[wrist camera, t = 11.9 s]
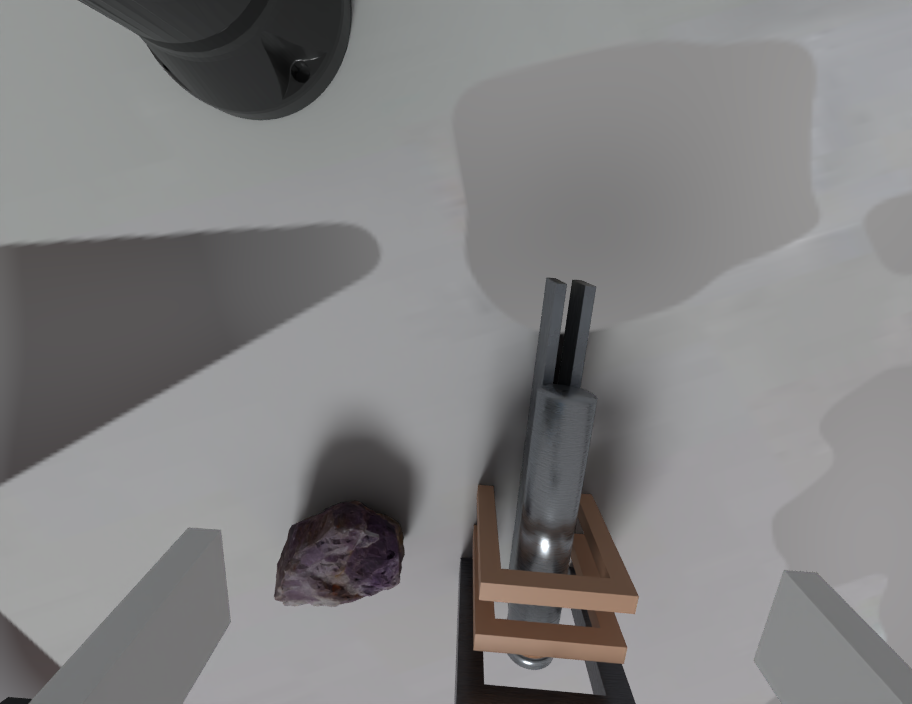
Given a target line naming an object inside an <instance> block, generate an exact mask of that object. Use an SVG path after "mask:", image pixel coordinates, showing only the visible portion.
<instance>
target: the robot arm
mask: <svg viewBox="0 0 912 704" xmlns="http://www.w3.org/2000/svg"><path fill="white" fill-rule="evenodd" d="M79 1H80V2H82V3H84V4H86V5H87V6H89V7H91V8H93V9H94V10H96V11H98V12H100V13H101V14H103V15H105V16H106V17H108V18H110V19H112V20H113V21H115V22H117V23H119V24H120V25H122V26H124V27H126V28H127V29H129V30H131V31H132V32H134V33H136V34H137V35H139V36H140V37H141V38H142V40H143V41H144V42H145V43H146V44H147V46H148V47H149V49H150V51H151V52H152V54H153V55H154V57H155V58H156V60H157V61H158V62H159V63H160V65H161V66H162V67H163V68H164V70H165V71H166V72H167V73H168V74H169V75H170V76H171V77H172V78H173V79H174V80H175V81H176V82H177V83H178V84H179V85H180V86H181V87H183V88H184V89H185V90H186V91H188V92H189V93H190V94H192V95H193V96H195V97H196V98H198V99H199V100H201V101H203V102H205V103H207V104H209V105H211V106H213V107H215V108H217V109H219V110H221V111H223V112H225V113H228V114H230V115H233V116H236V117H240V118H245V119H252V120H270V119H277V118H281V117H285V116H288V115H291V114H293V113H296V112H297V111H299V110H301V109H303V108H305V107H306V106H308V105H309V104H310V103H312V102H313V101H314V100H315V99H317V98H318V97H319V96H320V95H321V94H322V93H323V92H324V90H325V89H326V88H327V87H328V85H329V84H330V83H331V81H332V80H333V78H334V76H335V75H336V73H337V71H338V69H339V67H340V65H341V63H342V60H343V58H344V54H345V51H346V48H347V44H348V39H349V33H350V23H351V6H350V0H79ZM230 622H231V619H230V610H229V600H228V591H227V582H226V572H225V563H224V554H223V544H222V535H221V530H215V529H201V528H188V529H187V530H186V531H185V532H184V533H183V534H182V535H181V536H180V538H179V539H178V540H177V541H176V542H175V543H174V544H173V545H172V546H171V547H170V549H169V550H168V551H167V552H166V553H165V554H164V555H163V556H162V557H161V558H160V560H159V561H158V562H157V563H156V564H155V565H154V566H153V567H152V568H151V569H150V571H149V572H148V573H147V574H146V575H145V576H144V577H143V578H142V579H141V580H140V582H139V583H138V584H137V585H136V586H135V587H134V588H133V589H132V590H131V591H130V593H129V594H128V595H127V596H126V597H125V598H124V599H123V600H122V601H121V602H120V604H119V605H118V606H117V607H116V608H115V609H114V610H113V611H112V612H111V613H110V615H109V616H108V617H107V618H106V619H105V620H104V621H103V622H102V623H101V624H100V626H99V627H98V628H97V629H96V630H95V631H94V632H93V633H92V634H91V635H90V637H89V638H88V639H87V640H86V641H85V642H84V643H83V644H82V645H81V646H80V648H79V649H78V650H77V651H76V652H75V653H74V654H73V655H72V656H71V657H70V659H69V660H68V661H67V662H66V663H65V664H64V665H63V666H62V667H61V668H60V670H59V671H58V672H57V673H56V674H55V675H54V676H53V677H52V678H51V680H50V681H49V682H48V683H47V684H46V685H45V686H44V687H43V688H42V689H41V690H40V692H39V693H38V694H37V695H36V696H35V697H34V698H33V699H26V698H13V697H8V698H6V699H5V700H3V701H2V702H1V703H0V704H183V702H184V700H185V698H186V697H187V695H188V693H189V692H190V690H191V688H192V687H193V685H194V683H195V682H196V680H197V678H198V677H199V675H200V673H201V671H202V670H203V668H204V666H205V665H206V663H207V661H208V660H209V658H210V656H211V655H212V653H213V651H214V649H215V648H216V646H217V644H218V643H219V641H220V639H221V638H222V636H223V634H224V633H225V631H226V629H227V627H228V626H229V624H230ZM754 662H755V663H756V665H757V667H758V668H759V670H760V671H761V673H762V674H763V676H764V677H765V679H766V680H767V682H768V684H769V685H770V687H771V688H772V690H773V691H774V693H775V694H776V696H777V698H778V699H779V701H780V702H781V704H912V669H911V668H910V667H909V666H908V665H907V664H906V663H905V662H904V660H902V658H901V657H900V656H899V655H897V653H896V652H895V651H894V650H893V649H892V648H891V647H889V645H888V644H887V643H886V642H885V641H884V640H883V639H882V638H881V637H880V636H879V635H878V634H877V633H876V632H875V631H874V630H873V629H872V628H871V627H870V626H869V625H868V624H867V623H866V622H865V621H864V620H863V619H862V618H861V617H860V616H859V615H858V614H857V613H856V612H855V611H854V610H853V609H852V608H851V607H850V606H849V605H848V604H847V603H846V602H845V601H844V600H843V599H842V597H841V596H840V595H839V594H838V593H837V592H836V591H835V590H834V589H833V588H832V587H831V586H830V585H829V584H827V582H826V581H825V580H824V579H823V578H822V577H821V576H820V575H819V574H818V573H815V572H801V571H788V570H784V571H783V574H782V577H781V580H780V583H779V586H778V589H777V592H776V595H775V598H774V601H773V604H772V607H771V610H770V613H769V616H768V619H767V622H766V625H765V628H764V631H763V634H762V636H761V639H760V642H759V645H758V648H757V651H756V654H755V657H754Z"/></svg>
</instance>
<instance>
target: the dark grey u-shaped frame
mask: <svg viewBox="0 0 912 704" xmlns="http://www.w3.org/2000/svg"><path fill="white" fill-rule="evenodd" d="M568 575H576V572H575V569H574V568H572V567H569V569H568ZM571 611H572V615H573V618H574V622H575V626H584V627H592V624H591V621H590V618H589V615H588V611H587V610H584V609H573V608H571ZM585 663H586V667H587V671H588V675H589V678H590V682H591V686H592V690H593V694H594V695H593V694H582V693H572V692H561V691H550V690H539V689H528V688H517V687H506V686H495V685H484V667H483V651H475V650H473V559H470V558H461V561H460V572H459V589H458V618H457V646H456V674H455V703H454V704H636V703H635V701H634V698H633V695H632V692H631V689H630V686H629V683H628V681H627V678H626V675H625V672H624V669H623V666H622V664H619V663H608V662H597V661H586V660H585Z"/></svg>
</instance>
